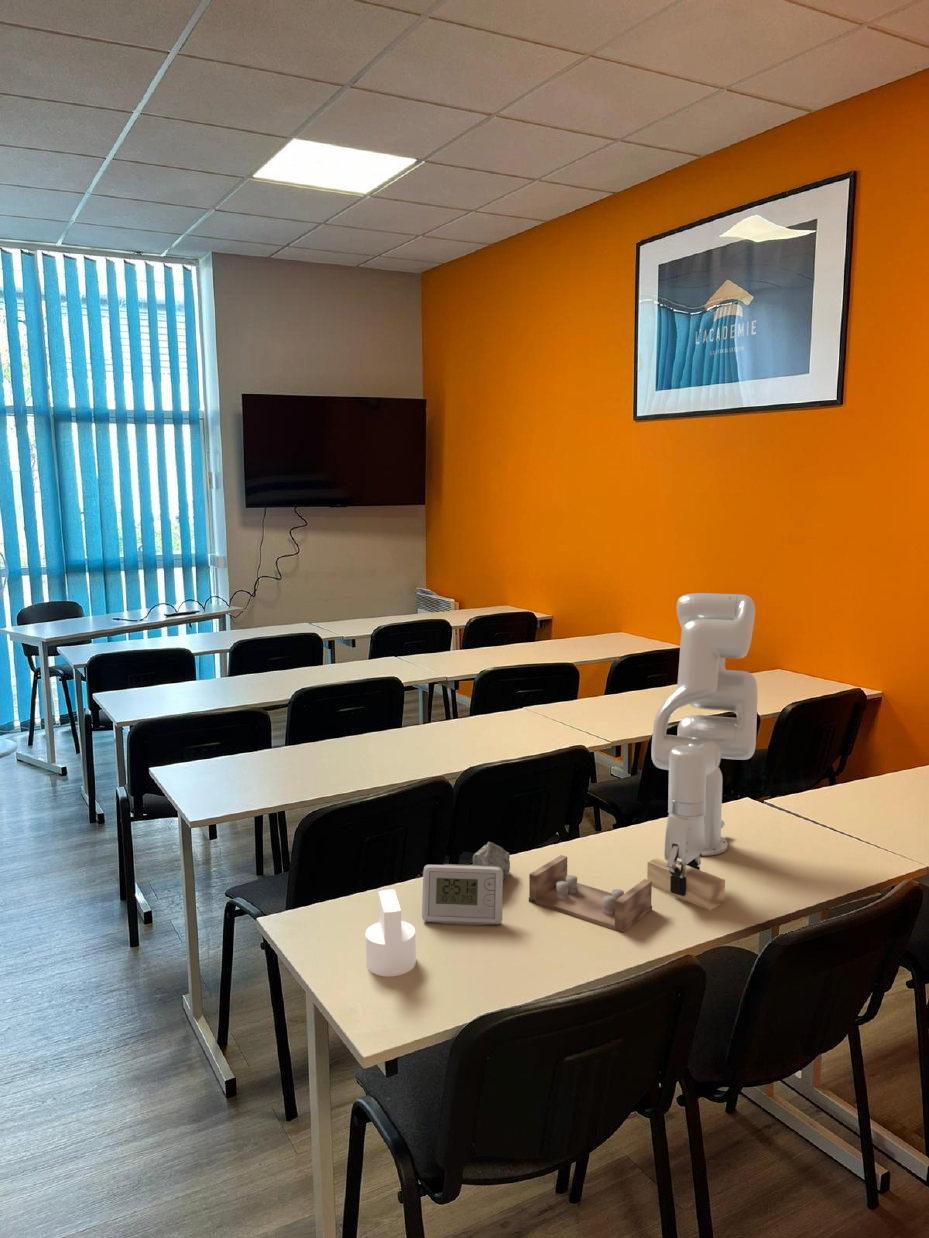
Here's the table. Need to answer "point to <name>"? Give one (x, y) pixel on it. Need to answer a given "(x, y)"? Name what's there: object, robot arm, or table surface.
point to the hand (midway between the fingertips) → (684, 887)
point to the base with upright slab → (390, 939)
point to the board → (689, 884)
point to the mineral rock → (493, 857)
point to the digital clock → (462, 894)
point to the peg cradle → (588, 897)
